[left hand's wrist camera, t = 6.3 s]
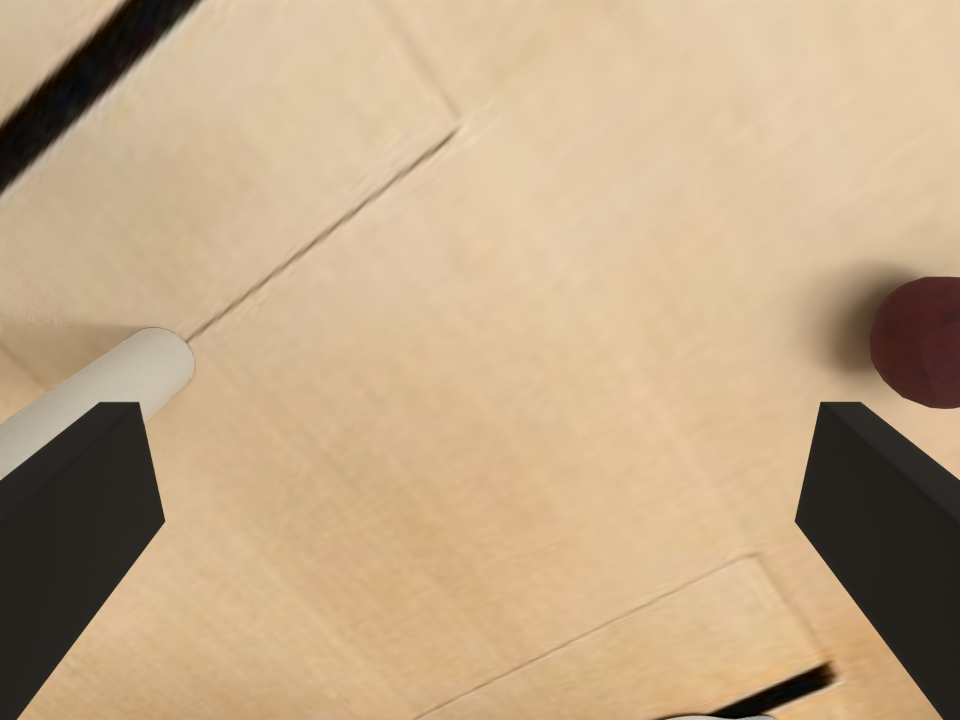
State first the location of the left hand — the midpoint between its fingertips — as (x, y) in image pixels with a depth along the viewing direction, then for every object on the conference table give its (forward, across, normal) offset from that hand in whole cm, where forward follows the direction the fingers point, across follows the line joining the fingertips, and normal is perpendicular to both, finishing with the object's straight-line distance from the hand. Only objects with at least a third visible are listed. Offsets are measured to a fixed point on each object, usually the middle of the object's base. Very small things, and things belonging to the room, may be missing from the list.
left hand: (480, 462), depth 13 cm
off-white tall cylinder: (+28, -21, -9) cm, 36 cm away
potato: (+28, +27, -6) cm, 39 cm away
